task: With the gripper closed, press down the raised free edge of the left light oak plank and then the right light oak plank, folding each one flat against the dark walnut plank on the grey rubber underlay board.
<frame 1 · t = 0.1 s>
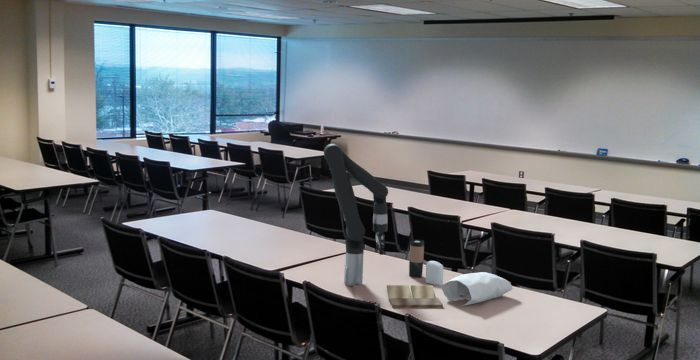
hand: (380, 252, 333), 17 cm above the table, tool pointing down, fingers open, 8 cm apart
bag: (476, 300, 317), on the table
oak plank right: (423, 292, 312), point 4 cm above the table, hinge at 25.0°
oak plank left: (399, 292, 311), point 4 cm above the table, hinge at 25.0°
photo printer: (433, 284, 339), on the table
underlay board: (413, 302, 309), on the table
travel mug: (415, 276, 352), on the table
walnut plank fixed: (415, 304, 303), resting on underlay board
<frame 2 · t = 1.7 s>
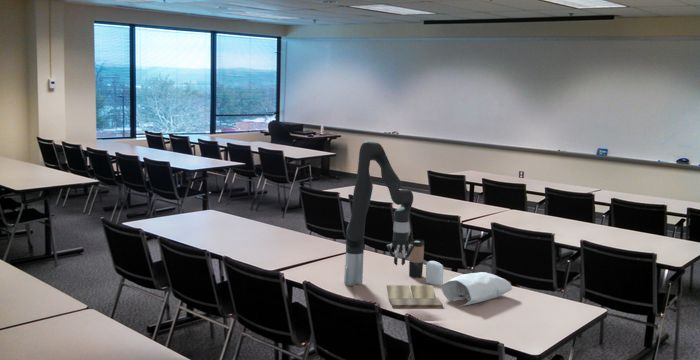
hand: (399, 264, 312), 17 cm above the table, tool pointing down, fingers closed
nothing on the table moved.
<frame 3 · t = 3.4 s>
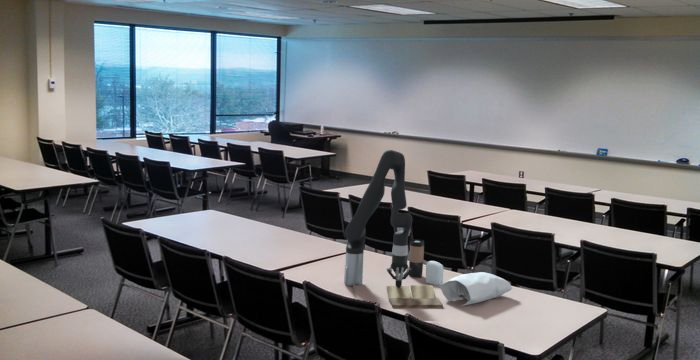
hand: (398, 287, 314), 5 cm above the table, tool pointing down, fingers closed
oak plank left: (398, 293, 311), point 3 cm above the table, hinge at 20.6°, touching gripper
everything else where it was.
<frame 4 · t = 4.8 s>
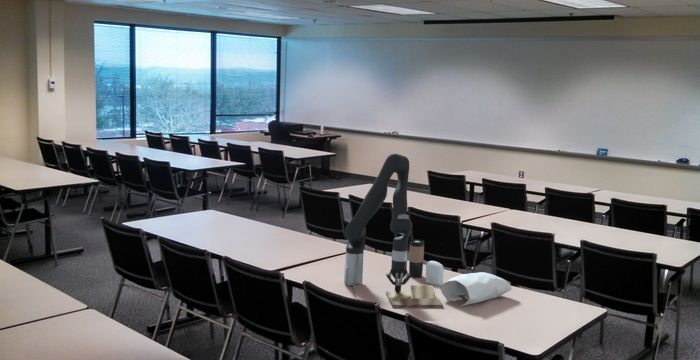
hand: (397, 292, 315), 3 cm above the table, tool pointing down, fingers closed
oak plank left: (398, 296, 312), point 2 cm above the table, hinge at -0.4°
everything else where it was.
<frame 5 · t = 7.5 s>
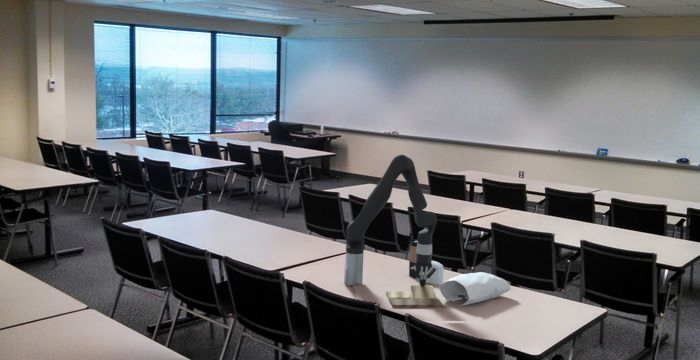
hand: (422, 286, 315), 6 cm above the table, tool pointing down, fingers closed
oak plank right: (423, 292, 312), point 4 cm above the table, hinge at 25.0°, touching gripper
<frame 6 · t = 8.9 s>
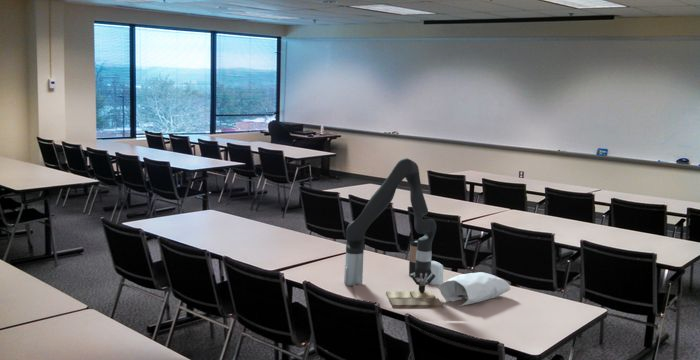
hand: (421, 292, 316), 3 cm above the table, tool pointing down, fingers closed
oak plank right: (422, 295, 313), point 2 cm above the table, hinge at 0.6°, touching gripper
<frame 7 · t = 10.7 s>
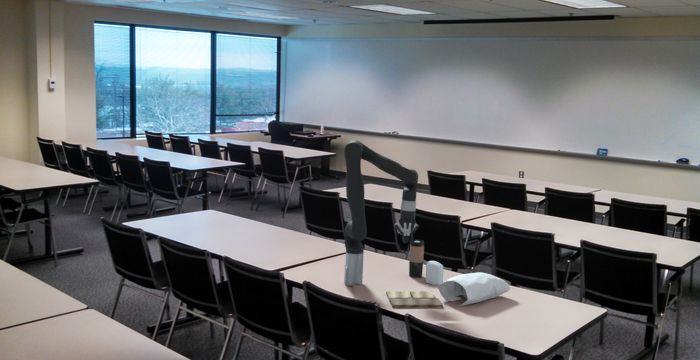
hand: (405, 242, 323), 25 cm above the table, tool pointing down, fingers closed
oak plank right: (422, 295, 313), point 2 cm above the table, hinge at 0.5°
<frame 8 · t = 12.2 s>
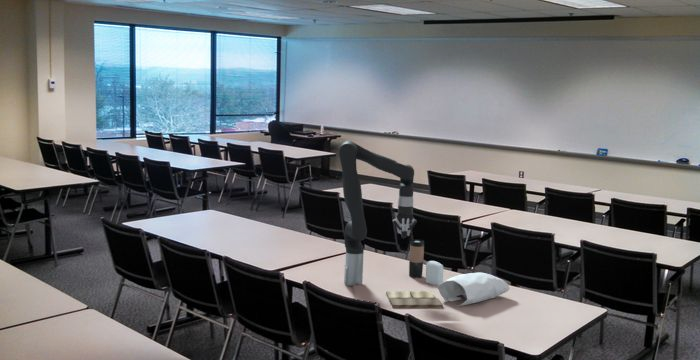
hand: (403, 237, 325), 27 cm above the table, tool pointing down, fingers closed
at the end: oak plank left at +0° (first picture: +25°); oak plank right at +0° (first picture: +25°) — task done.
